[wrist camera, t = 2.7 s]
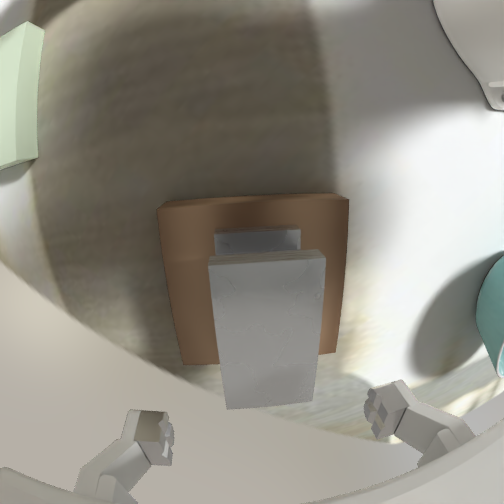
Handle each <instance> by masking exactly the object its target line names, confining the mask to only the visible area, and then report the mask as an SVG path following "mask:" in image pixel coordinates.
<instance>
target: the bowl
mask: <svg viewBox="0 0 504 504" xmlns="http://www.w3.org/2000/svg"><path fill="white" fill-rule="evenodd" d="M476 324H477V328H478V330H479V333H480V335H481V337H482V339H483V342H484V344H485V347H486V349H487V352H488V354H489V356H490V359H491V361H492V363H493V366H494V368H495V371H496V373H497V375H498V376H499V377H500V378H504V256H503V257H502V258H500V259H499V260H498V261H497V262H496V263H495V264H494V265H493V267H492V268H491V269H490V271H489V272H488V274H487V276H486V278H485V280H484V282H483V284H482V287H481V289H480V292H479V296H478V301H477V310H476Z"/></svg>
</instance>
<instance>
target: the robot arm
mask: <svg viewBox="0 0 504 504" xmlns="http://www.w3.org/2000/svg"><path fill="white" fill-rule="evenodd" d="M433 3H434V6H435V10H436V13H437V15H438V18H439V20H440V22H441V25H442V27H443V29H444V31H445V33H446V35H447V36H448V38H449V40H450V42H451V43H452V45H453V47H454V48H455V50H456V51H457V53H458V54H459V56H460V57H461V59H462V60H463V61H464V63H465V64H466V65H467V67H468V68H469V69H470V70H471V71H472V73H473V74H474V75H475V77H476V78H477V79H478V81H479V82H480V85H481V87H482V89H483V91H484V94H485V96H486V98H487V100H488V102H489V104H490V105H491V107H492V108H493V109H496V110H504V0H433ZM367 395H368V397H369V398H368V399H367V400H366V401H365V404H364V414H365V417H366V419H367V421H368V422H370V423H372V427H371V429H372V431H373V433H374V435H375V437H376V439H380V438H383V437H386V436H390V435H393V434H394V435H395V436H396V437H398V438H399V439H401V440H402V441H404V442H405V443H407V444H409V445H410V446H412V447H413V448H415V449H416V450H418V451H420V452H421V453H423V456H422V457H421V459H420V460H419V461H418V463H417V465H418V468H416V469H414V470H412V471H410V472H407V473H405V474H403V475H400V476H397V477H395V478H392V479H389V480H387V481H384V482H381V483H379V484H375V485H373V486H370V487H367V488H363V489H360V490H357V491H354V492H350V493H347V494H343V495H339V496H335V497H331V498H327V499H323V500H318V501H313V502H309V503H303V504H504V418H503V419H502V420H500V421H499V422H498V423H496V424H495V425H493V426H492V427H490V428H489V429H487V430H486V431H484V432H483V433H481V434H480V435H478V436H475V435H474V434H473V432H472V431H471V429H470V428H469V427H468V425H467V424H466V423H465V421H464V420H463V419H461V418H459V417H457V416H454V415H452V414H449V413H447V412H444V411H442V410H440V409H437V408H435V407H433V406H430V405H428V404H426V403H423V402H421V403H419V401H418V400H417V399H416V397H415V396H414V394H413V393H412V392H411V390H410V389H409V388H408V386H407V385H406V384H405V382H404V381H403V380H398V381H394V382H391V383H387V384H383V385H380V386H376V387H373V388H370V389H369V391H368V394H367ZM168 420H169V416H168V414H167V412H158V411H143V410H130V411H129V412H128V414H127V418H126V421H125V425H124V428H123V432H122V436H121V439H117V440H116V441H115V442H113V443H112V444H111V445H109V446H108V447H107V448H106V449H105V450H103V451H102V452H101V453H100V454H98V455H97V456H96V457H95V458H93V459H92V460H91V461H90V462H89V463H87V464H86V465H84V466H83V467H82V468H81V469H80V472H79V476H78V478H77V482H76V485H75V488H74V492H70V491H67V490H64V489H61V488H57V487H55V486H52V485H49V484H46V483H44V482H41V481H38V480H36V479H33V478H31V477H29V476H26V475H24V474H22V473H19V472H17V471H15V470H13V469H10V468H7V467H3V468H0V504H138V502H137V501H136V500H135V499H134V498H133V497H132V496H131V495H130V494H129V493H128V492H129V491H130V490H131V489H132V488H133V486H135V484H136V483H137V482H138V481H139V480H140V479H141V477H142V476H143V475H144V474H145V473H146V472H147V470H148V469H149V468H150V467H151V465H164V466H171V465H172V454H173V453H172V450H171V448H170V447H172V446H173V445H174V430H173V427H172V424H171V423H169V422H168Z"/></svg>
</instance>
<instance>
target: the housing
mask: <svg viewBox="0 0 504 504" xmlns="http://www.w3.org/2000/svg"><path fill="white" fill-rule="evenodd" d="M214 242H215V253H216V255H215V256H210V258H209V263H208V270H209V280H210V289H211V298H212V306H213V315H214V323H215V331H216V338H217V346H218V353H219V361H220V368H221V374H222V381H223V388H224V394H225V401H226V407H227V409H244V408H257V407H268V406H278V405H286V404H294V403H302V402H308V401H312V399H313V392H314V385H315V377H316V369H317V361H318V352H319V343H320V333H321V323H322V311H323V299H324V285H325V268H326V257H325V256H324V255H323V254H322V253H321V252H320V251H319V249H313V250H301V229H300V228H299V227H298V226H297V225H278V226H259V227H242V228H226V229H215V232H214Z"/></svg>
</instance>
